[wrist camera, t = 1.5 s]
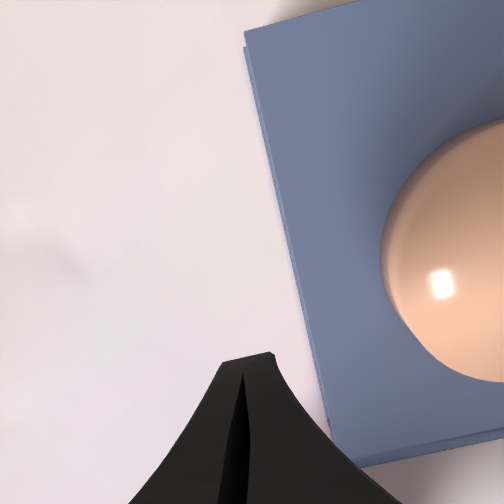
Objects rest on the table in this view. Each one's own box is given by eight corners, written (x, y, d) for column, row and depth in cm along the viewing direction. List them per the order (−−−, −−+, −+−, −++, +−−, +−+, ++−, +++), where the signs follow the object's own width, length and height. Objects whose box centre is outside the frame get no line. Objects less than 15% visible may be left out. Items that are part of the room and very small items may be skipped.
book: (581, 368, 20) (638, 409, 17) (327, 423, 20) (342, 472, 18) (589, -43, 14) (675, -85, 12) (243, 49, 15) (243, 31, 12)
